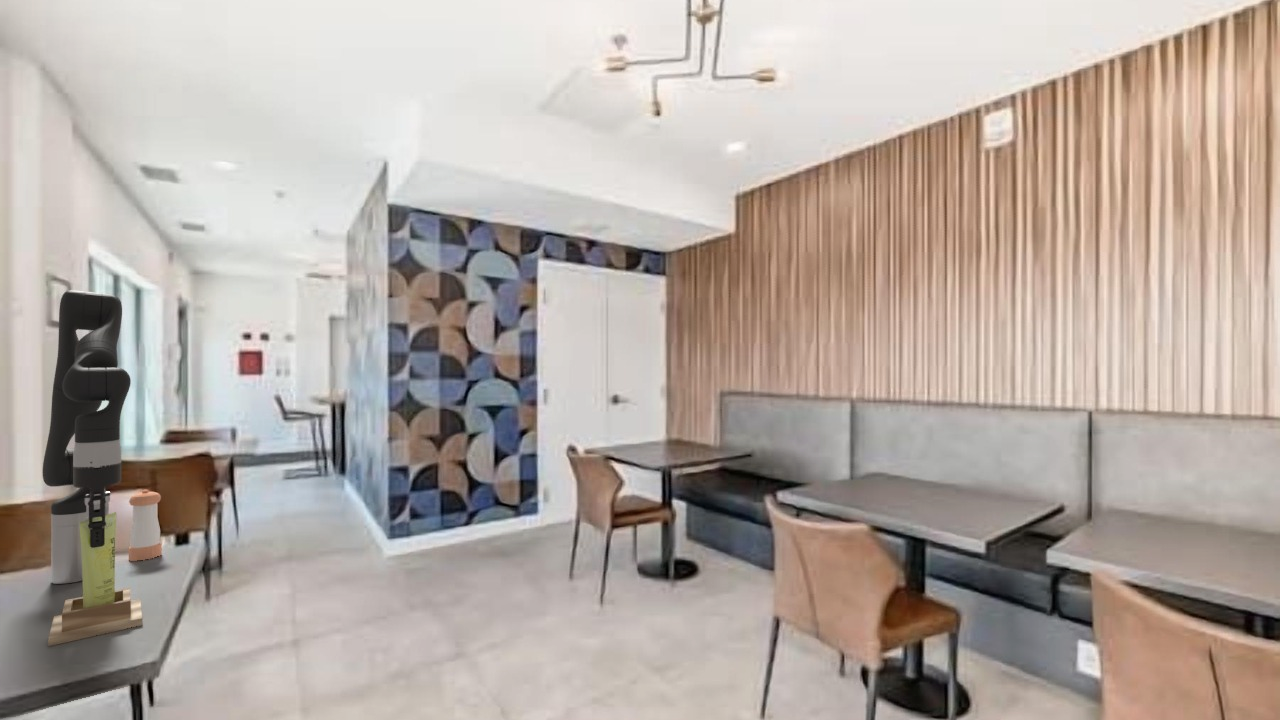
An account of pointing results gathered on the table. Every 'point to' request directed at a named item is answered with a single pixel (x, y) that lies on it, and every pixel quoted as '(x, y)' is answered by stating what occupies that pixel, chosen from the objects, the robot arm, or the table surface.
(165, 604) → the table surface
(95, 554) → the tube
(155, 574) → the table surface
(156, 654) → the table surface
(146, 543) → the pepper shaker
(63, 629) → the socket block
